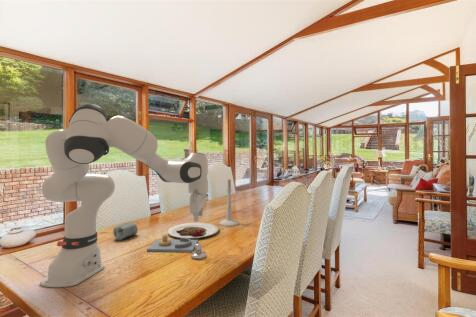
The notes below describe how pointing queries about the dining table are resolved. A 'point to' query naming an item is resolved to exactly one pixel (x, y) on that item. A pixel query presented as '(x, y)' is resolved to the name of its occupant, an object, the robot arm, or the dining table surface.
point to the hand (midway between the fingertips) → (198, 218)
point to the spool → (125, 230)
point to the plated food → (193, 230)
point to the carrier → (172, 245)
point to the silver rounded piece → (198, 252)
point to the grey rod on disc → (229, 210)
